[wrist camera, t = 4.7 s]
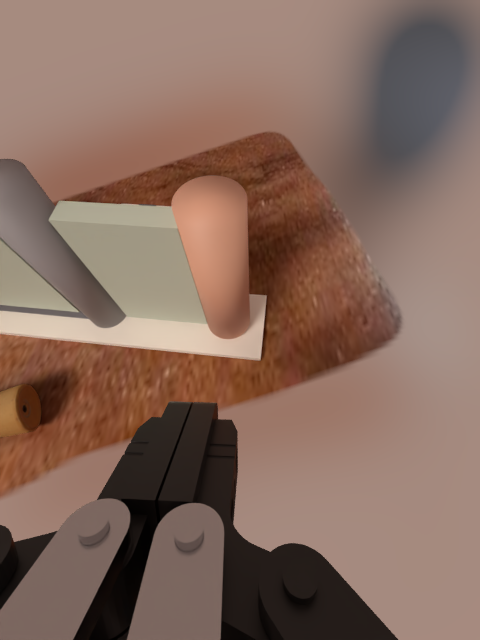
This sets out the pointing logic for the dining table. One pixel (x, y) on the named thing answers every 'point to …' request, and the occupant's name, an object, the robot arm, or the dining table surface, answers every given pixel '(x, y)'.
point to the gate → (169, 254)
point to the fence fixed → (43, 255)
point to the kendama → (19, 410)
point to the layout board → (138, 330)
